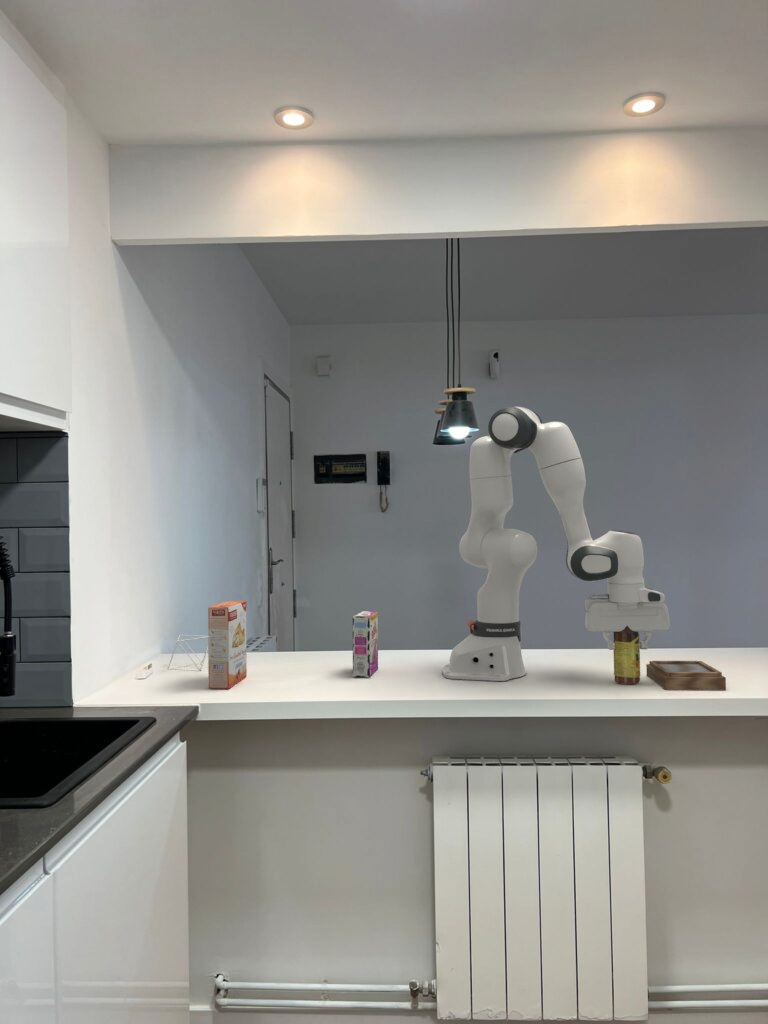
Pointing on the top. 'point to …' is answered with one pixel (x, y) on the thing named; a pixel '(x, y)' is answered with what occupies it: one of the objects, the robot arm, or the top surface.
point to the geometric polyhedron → (187, 654)
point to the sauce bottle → (627, 656)
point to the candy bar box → (365, 644)
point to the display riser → (685, 675)
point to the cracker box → (226, 644)
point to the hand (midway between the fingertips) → (627, 649)
